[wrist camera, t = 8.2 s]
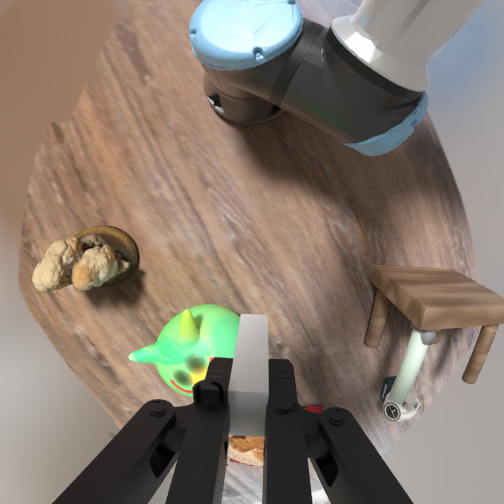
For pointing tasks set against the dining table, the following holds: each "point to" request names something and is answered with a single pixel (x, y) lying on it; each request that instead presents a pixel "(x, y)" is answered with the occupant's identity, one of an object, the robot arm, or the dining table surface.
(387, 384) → the watch
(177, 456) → the robot arm
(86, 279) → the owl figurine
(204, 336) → the toy bird
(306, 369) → the dining table surface
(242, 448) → the plate with food
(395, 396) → the hinged leg
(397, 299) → the stool
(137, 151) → the dining table surface
